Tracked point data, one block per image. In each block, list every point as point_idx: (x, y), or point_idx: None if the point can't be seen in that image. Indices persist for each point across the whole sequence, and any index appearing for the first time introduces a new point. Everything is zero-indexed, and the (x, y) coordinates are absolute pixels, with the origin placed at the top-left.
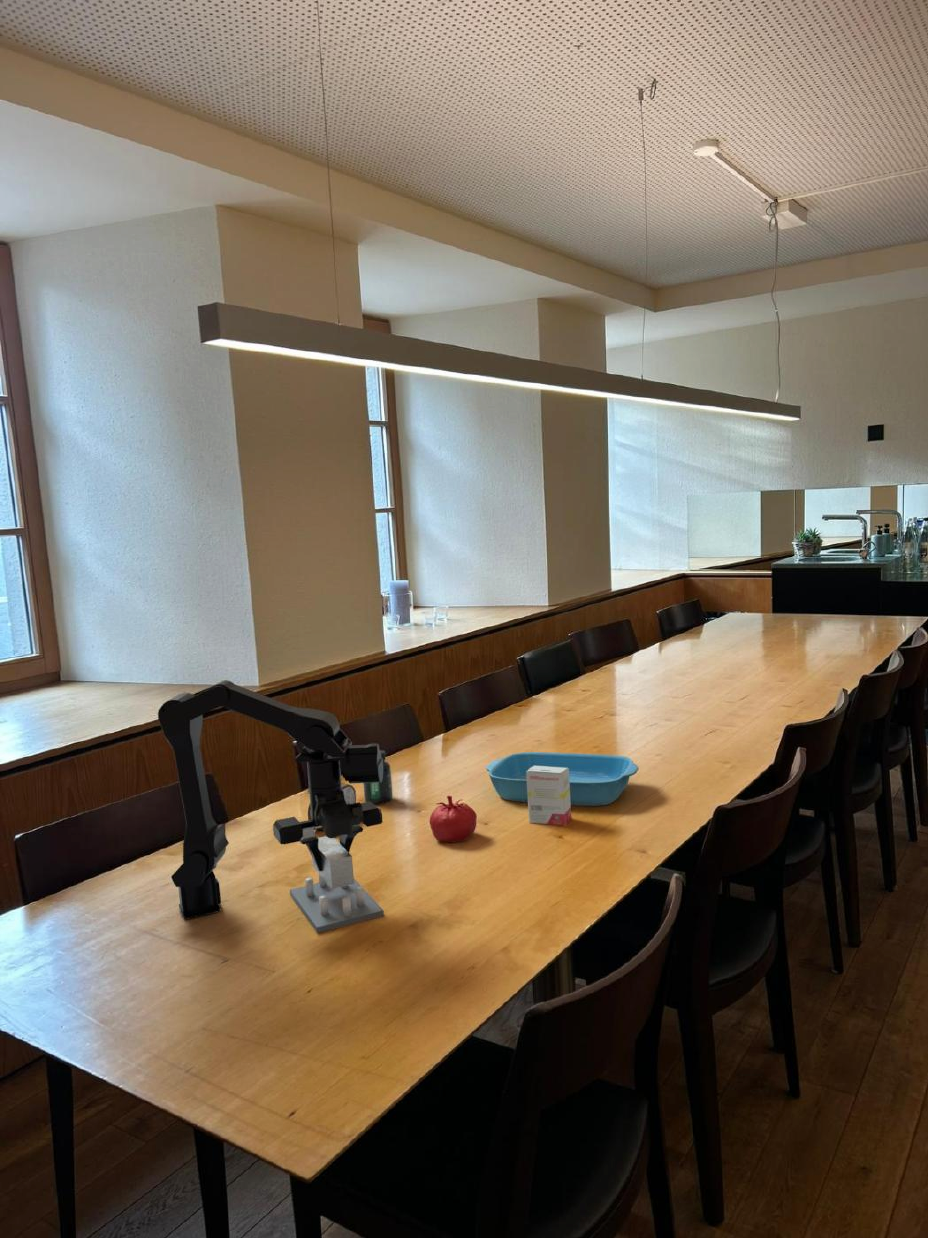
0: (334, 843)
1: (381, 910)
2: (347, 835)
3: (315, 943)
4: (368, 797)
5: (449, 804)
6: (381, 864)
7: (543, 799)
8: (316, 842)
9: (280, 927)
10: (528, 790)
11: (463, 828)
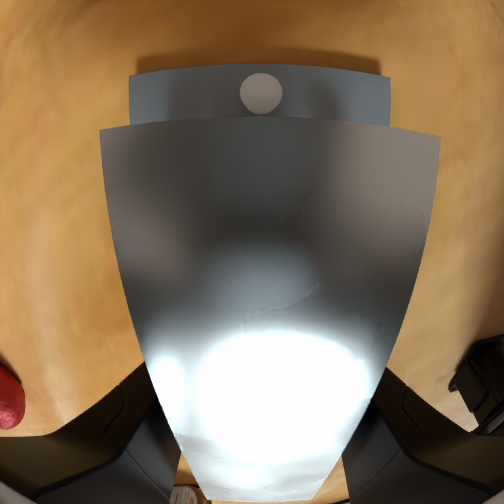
0: (215, 463)
1: (135, 77)
2: (72, 483)
3: (401, 29)
4: None
5: None
6: (101, 381)
7: None
8: (473, 469)
9: (447, 195)
10: None
11: None
